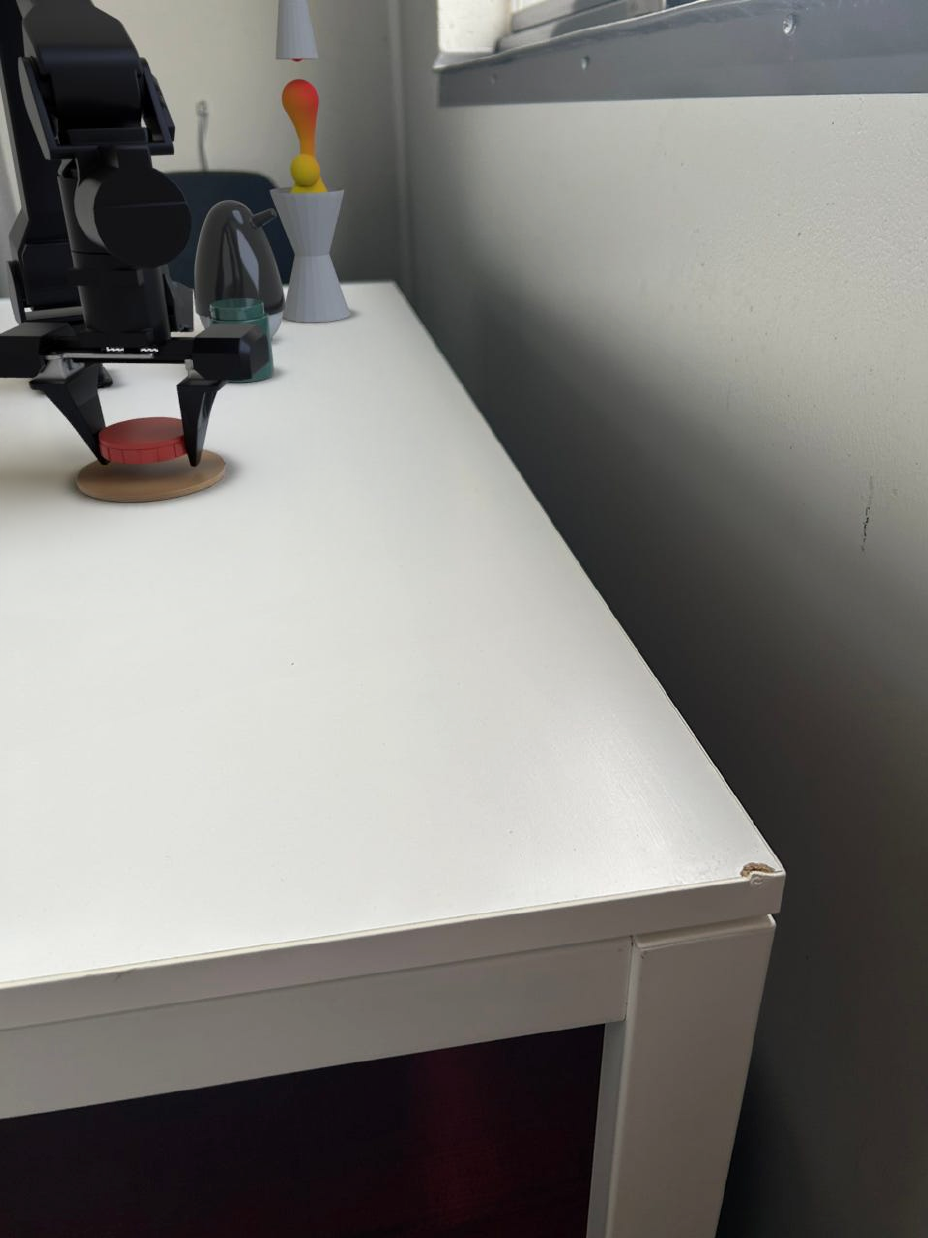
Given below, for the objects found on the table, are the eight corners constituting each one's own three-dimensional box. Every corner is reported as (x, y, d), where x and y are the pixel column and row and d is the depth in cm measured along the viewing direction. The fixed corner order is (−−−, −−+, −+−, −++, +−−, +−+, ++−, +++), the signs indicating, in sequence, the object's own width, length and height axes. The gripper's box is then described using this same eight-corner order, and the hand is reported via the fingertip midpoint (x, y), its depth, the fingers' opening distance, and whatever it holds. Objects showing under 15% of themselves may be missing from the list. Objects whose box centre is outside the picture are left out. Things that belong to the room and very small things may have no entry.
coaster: (69, 464, 78) (68, 458, 78) (208, 444, 82) (207, 438, 82) (87, 512, 69) (86, 505, 69) (242, 486, 73) (241, 480, 73)
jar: (209, 371, 103) (199, 300, 99) (265, 365, 105) (258, 295, 102) (223, 385, 98) (213, 311, 95) (281, 378, 100) (274, 305, 97)
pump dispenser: (271, 353, 110) (256, 205, 102) (184, 349, 112) (164, 204, 104) (302, 333, 118) (291, 195, 111) (221, 329, 120) (205, 194, 113)
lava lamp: (283, 309, 131) (254, -2, 114) (351, 307, 132) (333, -2, 115) (279, 323, 123) (248, -8, 106) (352, 321, 124) (332, -8, 107)
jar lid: (124, 471, 70) (121, 451, 70) (87, 448, 75) (83, 429, 74) (210, 450, 74) (208, 430, 74) (170, 429, 79) (167, 411, 78)
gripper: (276, 232, 74) (295, 433, 82) (36, 232, 75) (76, 429, 83) (235, 255, 64) (261, 480, 72) (-39, 254, 66) (14, 476, 73)
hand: (151, 464), depth 75 cm, fingers closed on jar lid, 7 cm apart
